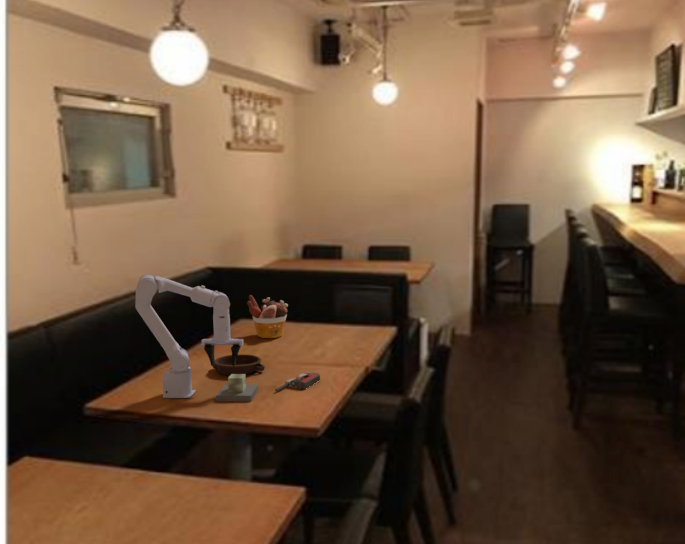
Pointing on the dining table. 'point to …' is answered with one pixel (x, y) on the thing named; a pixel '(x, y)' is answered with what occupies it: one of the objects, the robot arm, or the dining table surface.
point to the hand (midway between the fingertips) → (223, 365)
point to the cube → (237, 382)
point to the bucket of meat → (268, 317)
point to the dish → (238, 364)
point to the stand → (237, 394)
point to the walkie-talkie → (301, 381)
